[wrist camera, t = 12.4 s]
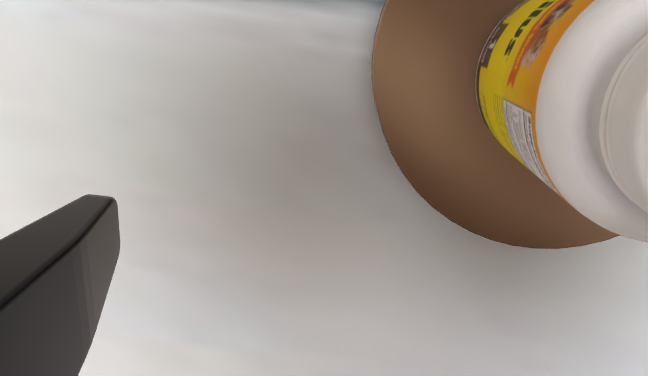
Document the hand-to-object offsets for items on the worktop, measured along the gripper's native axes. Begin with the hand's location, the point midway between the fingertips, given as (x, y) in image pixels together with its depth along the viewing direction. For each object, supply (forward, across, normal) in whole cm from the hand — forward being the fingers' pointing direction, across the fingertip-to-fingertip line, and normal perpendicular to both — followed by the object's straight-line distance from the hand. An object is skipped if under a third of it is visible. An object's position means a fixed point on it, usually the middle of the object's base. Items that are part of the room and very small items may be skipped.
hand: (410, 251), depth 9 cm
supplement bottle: (+11, -6, +1) cm, 13 cm away
